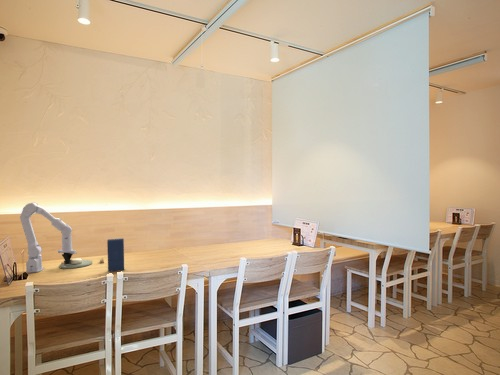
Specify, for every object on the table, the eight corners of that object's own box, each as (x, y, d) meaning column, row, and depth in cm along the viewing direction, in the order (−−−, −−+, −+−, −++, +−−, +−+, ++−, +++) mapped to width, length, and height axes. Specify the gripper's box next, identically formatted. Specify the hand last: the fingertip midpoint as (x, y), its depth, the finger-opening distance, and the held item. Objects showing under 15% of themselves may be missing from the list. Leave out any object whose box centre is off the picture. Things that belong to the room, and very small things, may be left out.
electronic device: (124, 268, 209) (123, 238, 208) (124, 270, 204) (123, 239, 203) (108, 269, 205) (107, 239, 205) (107, 272, 201) (107, 240, 200)
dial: (80, 261, 224) (80, 257, 224) (83, 262, 219) (83, 258, 219) (62, 264, 217) (62, 259, 217) (65, 266, 212) (65, 261, 212)
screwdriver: (103, 263, 224) (103, 260, 224) (100, 263, 223) (100, 260, 223) (103, 259, 235) (103, 256, 235) (100, 259, 234) (100, 256, 234)
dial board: (87, 267, 212) (87, 264, 212) (54, 269, 208) (54, 266, 208) (95, 260, 231) (95, 257, 231) (65, 262, 227) (65, 259, 227)
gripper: (80, 243, 216) (80, 263, 216) (64, 242, 220) (64, 261, 220) (71, 245, 209) (71, 265, 209) (54, 244, 214) (55, 264, 214)
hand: (67, 263), depth 214 cm, fingers closed, pressing on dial
